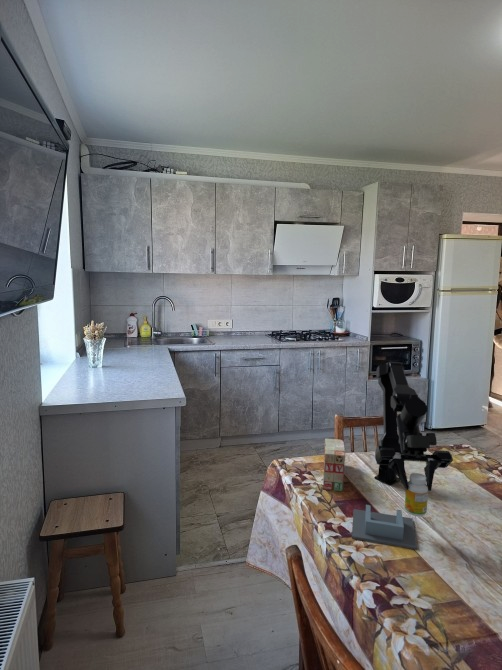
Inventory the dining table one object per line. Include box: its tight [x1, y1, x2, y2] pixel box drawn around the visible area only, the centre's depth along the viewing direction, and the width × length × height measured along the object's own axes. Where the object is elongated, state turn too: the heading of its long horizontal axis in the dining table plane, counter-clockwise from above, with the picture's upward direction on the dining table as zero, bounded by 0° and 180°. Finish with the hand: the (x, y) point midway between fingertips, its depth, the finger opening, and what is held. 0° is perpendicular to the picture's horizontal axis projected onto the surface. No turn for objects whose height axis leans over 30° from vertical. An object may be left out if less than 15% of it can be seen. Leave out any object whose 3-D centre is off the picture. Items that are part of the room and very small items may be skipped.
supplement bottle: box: [404, 472, 429, 517], centre depth 114 cm, size 5×5×10 cm
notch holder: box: [351, 504, 418, 551], centre depth 117 cm, size 14×16×4 cm
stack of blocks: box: [322, 438, 346, 492], centre depth 148 cm, size 21×6×12 cm, turn 170°
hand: (418, 490), depth 112 cm, fingers closed on supplement bottle, 5 cm apart
